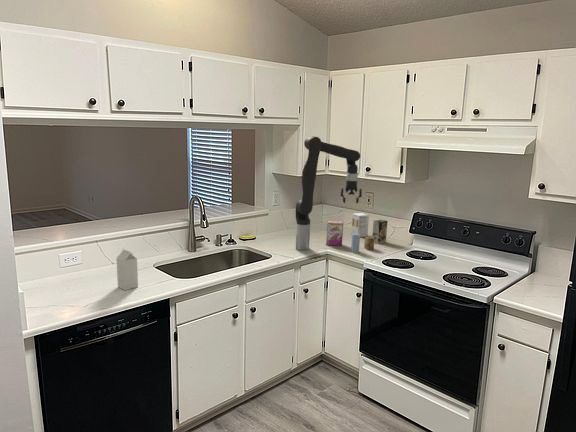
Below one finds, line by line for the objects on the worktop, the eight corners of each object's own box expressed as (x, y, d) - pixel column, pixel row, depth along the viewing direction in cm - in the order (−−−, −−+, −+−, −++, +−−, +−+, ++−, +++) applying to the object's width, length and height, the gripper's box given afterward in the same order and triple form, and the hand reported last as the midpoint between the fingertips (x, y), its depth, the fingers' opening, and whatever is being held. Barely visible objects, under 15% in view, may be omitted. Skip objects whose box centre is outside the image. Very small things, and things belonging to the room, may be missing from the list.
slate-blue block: (352, 252, 296) (353, 235, 294) (351, 250, 301) (352, 233, 298) (358, 252, 296) (359, 235, 294) (357, 250, 301) (358, 233, 298)
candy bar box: (326, 245, 313) (327, 222, 310) (326, 243, 318) (327, 221, 315) (342, 246, 312) (343, 223, 309) (342, 244, 317) (343, 221, 314)
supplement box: (350, 234, 347) (352, 213, 344) (360, 233, 351) (362, 212, 348) (357, 237, 339) (359, 215, 335) (367, 236, 343) (369, 214, 339)
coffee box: (378, 244, 320) (380, 222, 317) (371, 242, 325) (372, 220, 322) (386, 242, 326) (388, 220, 323) (379, 240, 331) (380, 219, 328)
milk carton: (124, 290, 218) (123, 253, 214) (117, 287, 222) (115, 250, 218) (138, 287, 223) (136, 250, 219) (130, 283, 227) (129, 247, 224)
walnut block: (366, 250, 304) (367, 238, 302) (364, 248, 309) (365, 236, 307) (373, 249, 305) (374, 238, 303) (371, 247, 309) (371, 236, 308)
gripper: (342, 180, 302) (341, 203, 306) (363, 180, 303) (361, 204, 306) (340, 178, 310) (339, 201, 313) (361, 179, 310) (359, 202, 313)
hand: (350, 203), depth 309 cm, fingers open, 8 cm apart
